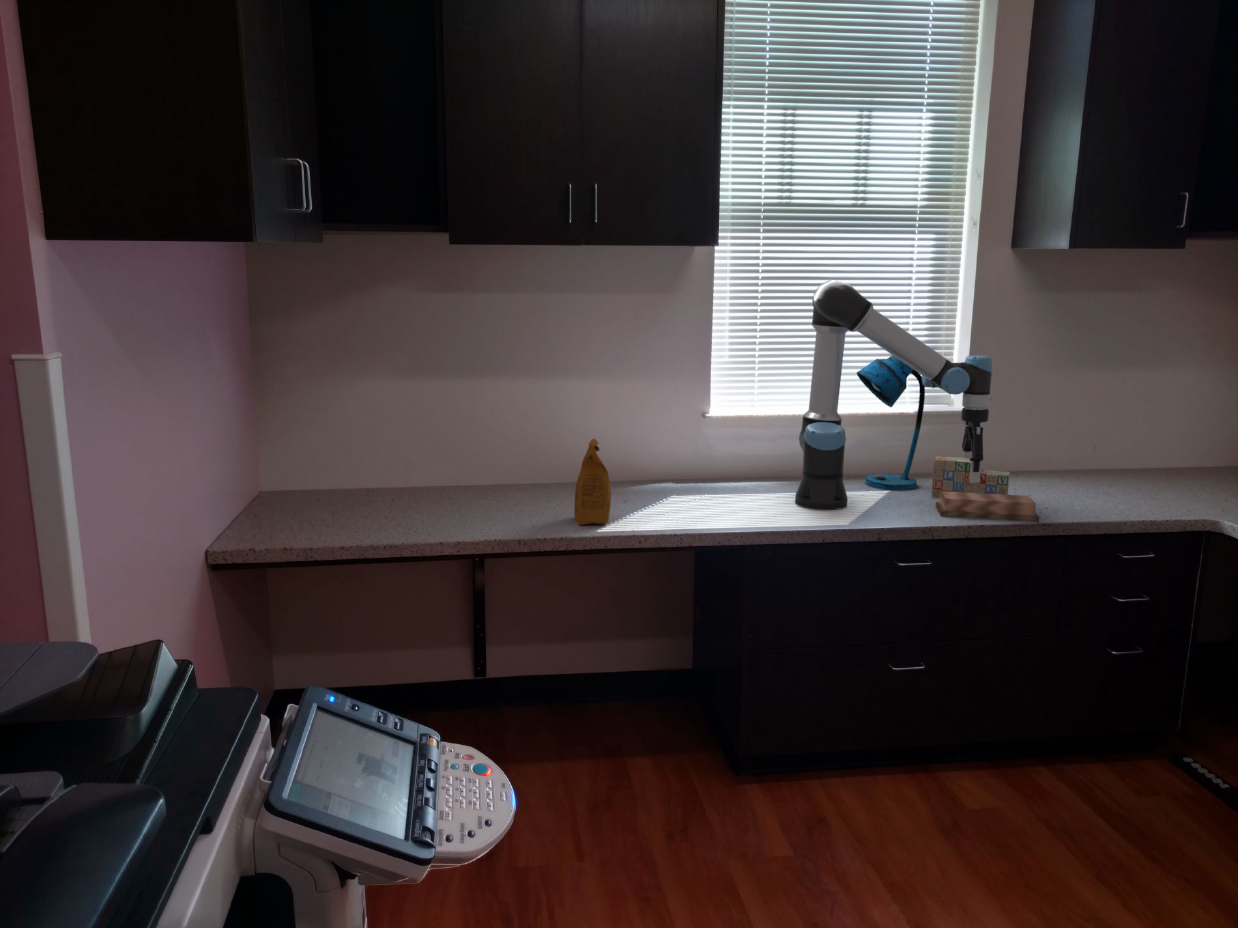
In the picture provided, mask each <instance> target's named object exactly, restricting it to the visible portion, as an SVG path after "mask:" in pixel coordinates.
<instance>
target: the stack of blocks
mask: <svg viewBox="0 0 1238 928" xmlns="http://www.w3.org/2000/svg"><path fill="white" fill-rule="evenodd" d="M970 468H971V461H970V459H967V458H963V457H953V456H940V455H937V456H935V458H934V459H933V470H932V487H931V495H930V496H931V499H939V500H940V495H941V491H944V492H964V493H984V494H1003V495H1009V486H1010V476H1011V475H1010V474H1011V472H1010V471H1000V470H993V469H992V470H991V469H990V470H989V469H981V471H980V483H971V482H970Z"/></svg>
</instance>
